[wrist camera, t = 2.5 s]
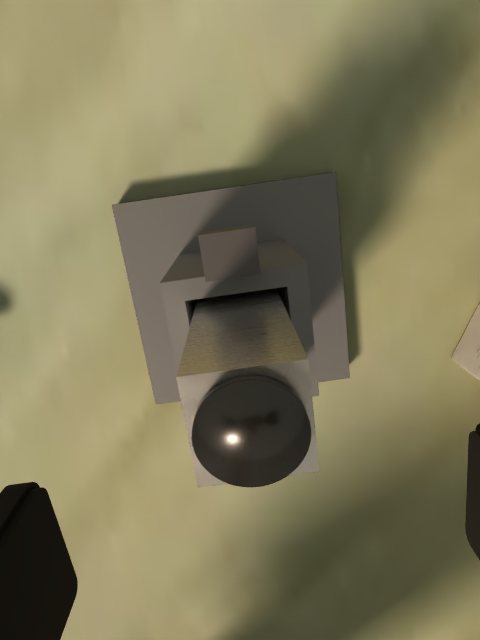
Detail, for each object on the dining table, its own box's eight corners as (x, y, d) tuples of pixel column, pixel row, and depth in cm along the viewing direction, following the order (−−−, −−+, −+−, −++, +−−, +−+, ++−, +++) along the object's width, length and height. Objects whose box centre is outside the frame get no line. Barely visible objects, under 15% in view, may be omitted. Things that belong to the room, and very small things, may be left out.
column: (274, 323, 29) (326, 485, 14) (212, 331, 30) (194, 503, 14) (266, 262, 28) (315, 363, 12) (202, 271, 28) (169, 383, 12)
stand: (344, 369, 32) (401, 461, 22) (159, 394, 33) (125, 497, 22) (330, 172, 28) (392, 166, 17) (117, 203, 28) (51, 216, 18)
